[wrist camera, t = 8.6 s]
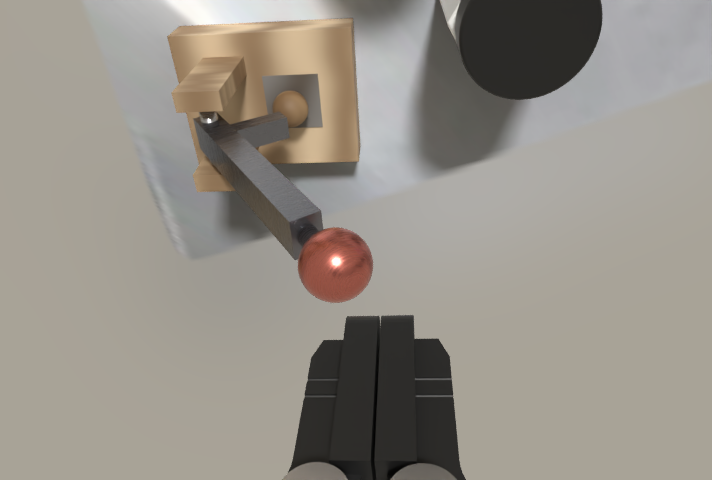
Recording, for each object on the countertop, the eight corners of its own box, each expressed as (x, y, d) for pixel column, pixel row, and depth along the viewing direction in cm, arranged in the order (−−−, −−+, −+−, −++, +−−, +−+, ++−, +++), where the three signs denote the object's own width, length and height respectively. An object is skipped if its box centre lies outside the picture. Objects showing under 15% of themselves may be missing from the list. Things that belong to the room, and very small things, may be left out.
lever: (266, 87, 41) (443, 211, 26) (274, 139, 43) (440, 280, 28) (177, 109, 38) (314, 262, 23) (191, 163, 41) (323, 333, 25)
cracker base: (353, 18, 43) (343, 59, 34) (360, 145, 49) (354, 207, 41) (179, 26, 44) (128, 68, 35) (208, 150, 50) (171, 211, 42)
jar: (505, 68, 45) (538, 129, 35) (420, 18, 43) (428, 68, 33) (580, -40, 40) (642, -5, 30) (487, -101, 38) (521, -84, 28)
